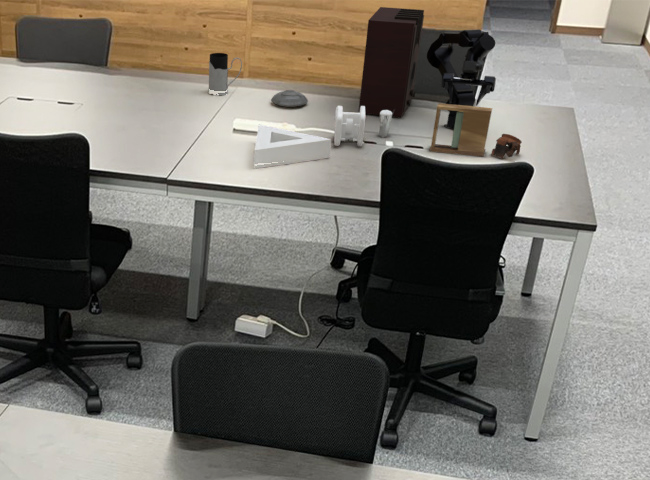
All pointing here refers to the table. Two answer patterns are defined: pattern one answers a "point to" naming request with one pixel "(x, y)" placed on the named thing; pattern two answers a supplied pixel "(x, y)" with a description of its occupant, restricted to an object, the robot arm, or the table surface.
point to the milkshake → (385, 122)
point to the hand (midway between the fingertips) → (463, 103)
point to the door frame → (465, 130)
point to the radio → (391, 60)
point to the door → (457, 129)
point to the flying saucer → (289, 98)
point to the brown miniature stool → (503, 149)
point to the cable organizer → (349, 125)
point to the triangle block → (288, 147)
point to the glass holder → (219, 72)
